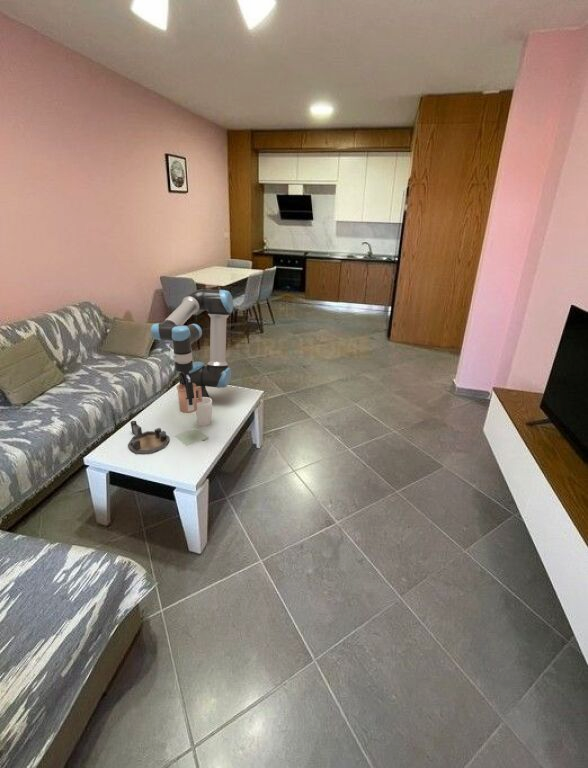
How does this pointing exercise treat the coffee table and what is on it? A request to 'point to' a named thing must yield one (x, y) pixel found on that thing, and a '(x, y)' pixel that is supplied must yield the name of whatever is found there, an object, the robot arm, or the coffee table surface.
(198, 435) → the mat
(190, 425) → the coffee table surface
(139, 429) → the collar
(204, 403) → the foam cup
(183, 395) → the terracotta mug
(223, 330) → the robot arm
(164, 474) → the coffee table surface
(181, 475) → the coffee table surface
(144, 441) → the base plate
